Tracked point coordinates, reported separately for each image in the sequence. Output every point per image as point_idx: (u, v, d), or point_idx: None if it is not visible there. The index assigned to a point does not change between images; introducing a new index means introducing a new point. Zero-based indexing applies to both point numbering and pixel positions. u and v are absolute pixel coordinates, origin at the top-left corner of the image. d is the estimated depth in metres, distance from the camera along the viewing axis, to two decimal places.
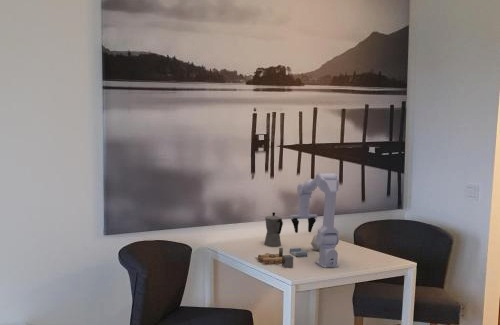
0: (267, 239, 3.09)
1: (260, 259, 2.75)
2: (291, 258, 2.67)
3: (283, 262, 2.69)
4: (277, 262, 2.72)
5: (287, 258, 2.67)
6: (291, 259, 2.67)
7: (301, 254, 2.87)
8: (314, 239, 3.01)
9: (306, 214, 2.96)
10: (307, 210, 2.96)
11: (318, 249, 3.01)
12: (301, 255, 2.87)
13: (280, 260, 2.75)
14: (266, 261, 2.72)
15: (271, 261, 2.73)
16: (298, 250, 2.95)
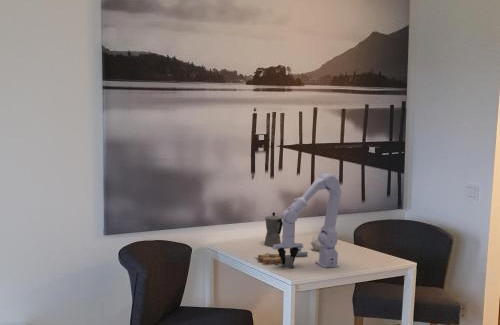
0: (267, 239, 3.09)
1: (260, 259, 2.75)
2: (291, 258, 2.67)
3: None
4: (277, 262, 2.72)
5: (287, 258, 2.67)
6: (291, 259, 2.67)
7: (301, 254, 2.87)
8: (314, 239, 3.01)
9: (291, 244, 2.66)
10: (292, 239, 2.66)
11: (318, 249, 3.01)
12: (301, 255, 2.87)
13: (280, 260, 2.75)
14: (266, 261, 2.72)
15: (271, 261, 2.73)
16: None
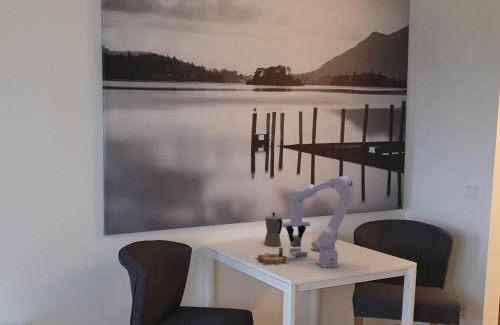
0: (267, 239, 3.09)
1: (260, 259, 2.75)
2: (299, 238, 2.81)
3: (291, 242, 2.82)
4: (277, 262, 2.72)
5: (295, 238, 2.80)
6: (299, 239, 2.81)
7: (301, 254, 2.87)
8: (314, 239, 3.01)
9: (299, 222, 2.80)
10: (300, 218, 2.80)
11: (318, 249, 3.01)
12: (301, 255, 2.87)
13: (280, 260, 2.75)
14: (266, 261, 2.72)
15: (271, 261, 2.73)
16: (298, 250, 2.95)
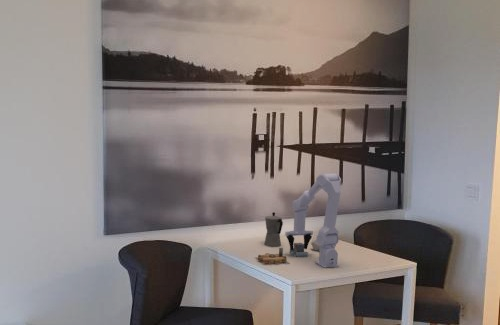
0: (267, 239, 3.09)
1: (260, 259, 2.75)
2: (302, 245, 2.89)
3: (295, 249, 2.90)
4: (277, 262, 2.72)
5: (298, 245, 2.89)
6: (302, 246, 2.89)
7: (301, 254, 2.87)
8: (314, 239, 3.01)
9: (302, 231, 2.88)
10: (303, 227, 2.88)
11: (318, 249, 3.01)
12: (301, 255, 2.87)
13: (280, 260, 2.75)
14: (266, 261, 2.72)
15: (271, 261, 2.73)
16: None
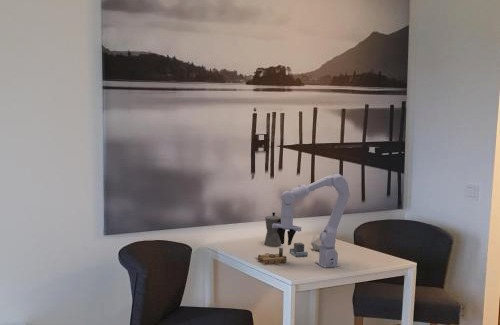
0: (267, 239, 3.09)
1: (260, 259, 2.75)
2: (302, 245, 2.89)
3: (295, 249, 2.90)
4: (277, 262, 2.72)
5: (298, 245, 2.89)
6: (302, 246, 2.89)
7: (301, 254, 2.87)
8: (314, 239, 3.01)
9: (284, 224, 2.70)
10: (286, 220, 2.70)
11: (318, 249, 3.01)
12: (301, 255, 2.87)
13: (280, 260, 2.75)
14: (266, 261, 2.72)
15: (271, 261, 2.73)
16: None
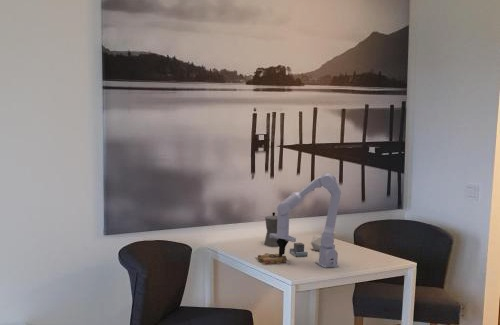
0: (267, 239, 3.09)
1: (260, 259, 2.75)
2: (302, 245, 2.89)
3: (295, 249, 2.90)
4: (278, 262, 2.72)
5: (298, 245, 2.89)
6: (302, 246, 2.89)
7: (301, 254, 2.87)
8: (314, 239, 3.01)
9: (279, 235, 2.75)
10: (280, 231, 2.74)
11: (318, 249, 3.01)
12: (301, 255, 2.87)
13: (280, 260, 2.75)
14: (267, 261, 2.72)
15: (272, 261, 2.73)
16: None
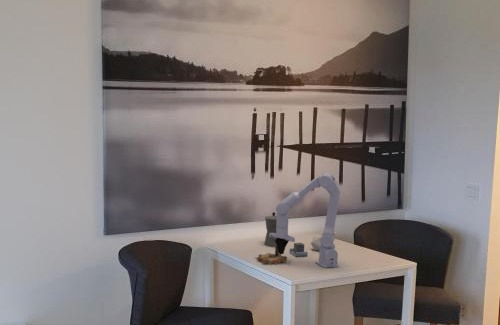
0: (267, 239, 3.09)
1: (266, 261, 2.73)
2: (302, 245, 2.89)
3: (295, 249, 2.90)
4: (284, 261, 2.74)
5: (298, 245, 2.89)
6: (302, 246, 2.89)
7: (301, 254, 2.87)
8: (314, 239, 3.01)
9: (278, 234, 2.76)
10: (279, 230, 2.76)
11: (318, 249, 3.01)
12: (301, 255, 2.87)
13: (283, 258, 2.78)
14: (276, 262, 2.71)
15: (278, 261, 2.74)
16: None
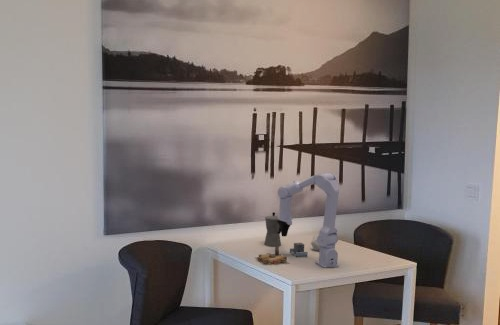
0: (267, 239, 3.09)
1: (266, 261, 2.73)
2: (302, 245, 2.89)
3: (295, 249, 2.90)
4: (284, 261, 2.74)
5: (298, 245, 2.89)
6: (302, 246, 2.89)
7: (301, 254, 2.87)
8: (314, 239, 3.01)
9: (279, 217, 2.89)
10: (280, 213, 2.89)
11: (318, 249, 3.01)
12: (301, 255, 2.87)
13: (283, 258, 2.78)
14: (276, 262, 2.71)
15: (278, 261, 2.74)
16: None
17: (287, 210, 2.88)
